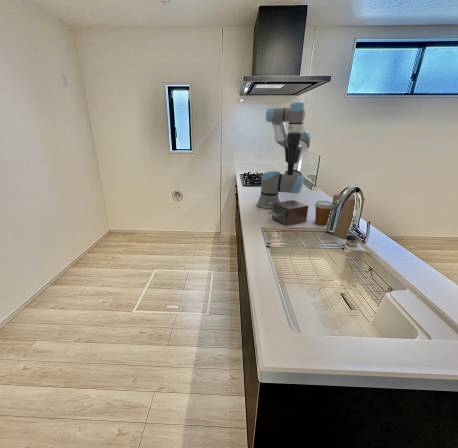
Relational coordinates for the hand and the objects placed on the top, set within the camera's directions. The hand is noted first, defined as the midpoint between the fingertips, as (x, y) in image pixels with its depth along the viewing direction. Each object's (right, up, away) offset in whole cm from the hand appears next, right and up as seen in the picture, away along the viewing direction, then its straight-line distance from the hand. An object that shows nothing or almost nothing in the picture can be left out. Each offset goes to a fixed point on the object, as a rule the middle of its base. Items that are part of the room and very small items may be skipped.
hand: (289, 174), depth 143 cm
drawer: (-5, -27, -4) cm, 28 cm away
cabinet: (-1, -27, -2) cm, 27 cm away
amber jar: (+16, -29, -6) cm, 34 cm away
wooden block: (+21, -34, -19) cm, 45 cm away
